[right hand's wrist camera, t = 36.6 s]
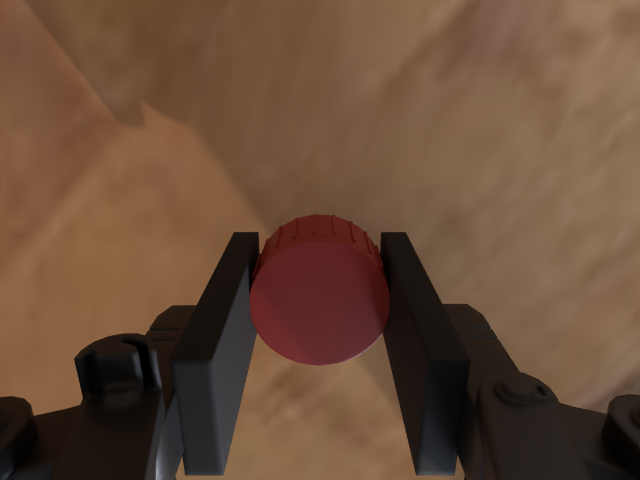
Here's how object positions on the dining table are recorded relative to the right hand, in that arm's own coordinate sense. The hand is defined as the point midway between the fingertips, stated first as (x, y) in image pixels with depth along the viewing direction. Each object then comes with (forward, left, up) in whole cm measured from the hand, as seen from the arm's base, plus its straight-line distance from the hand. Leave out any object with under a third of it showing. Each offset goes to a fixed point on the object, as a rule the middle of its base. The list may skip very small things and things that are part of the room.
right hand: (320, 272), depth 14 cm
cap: (0, 0, +2) cm, 2 cm away
